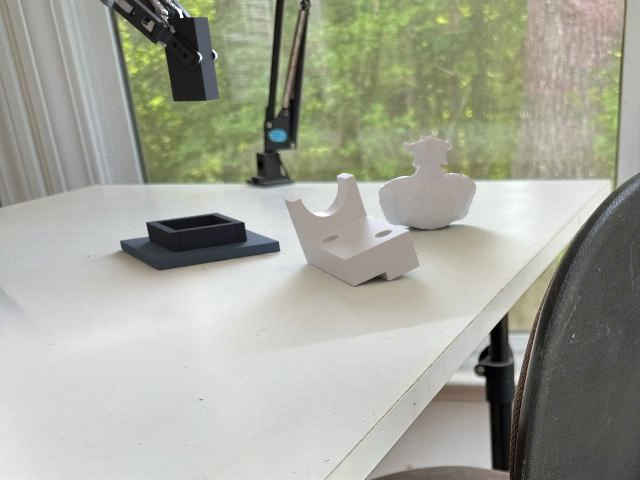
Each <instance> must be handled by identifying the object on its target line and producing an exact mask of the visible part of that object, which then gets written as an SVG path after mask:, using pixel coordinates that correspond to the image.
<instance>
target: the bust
mask: <svg viewBox="0 0 640 480" xmlns="http://www.w3.org/2000/svg"><path fill="white" fill-rule="evenodd" d="M453 145H454V142H453V140H452V139H450V138H447V139H446V140H443V139H441V138H440V139H439V138H437V136H436V135H435V133H431V134H430V135H424V134H420V139H419V140H416V141H414V142H411V143H410V142H408V141H405V142H403V143H402V147H403V149H404V150H405V152H406V153H411V154H412V155H413V162H412V167H413V168H415V172H414V173H412V174H411V175H410V176H409V175H408V176H407V175H404V176H399V177H395V178H393V179H390V180H387V181H386V182H385V183H384V184H383V185H382V186H381V187H380V188H379V190H378V202H379V205H380V208H381V212H382V214H383V216H384V218H385V220H386V222H388V223H390V224H393V225H396V226H401V227H406V228H416V229H421V230H431V231H433V230H434V231H435V230H437V229H442V228H445V227H447V226H449V225H450V224H452V223H455V222H457V221H461V220H464V219H465V218H466V217H467V216H468V215H469V211H470V208H471V206H472V204H473V200H474V197H476V192H477V191H476V190H477V188H478V187H477V184H476V182H475V181H474V180H473V179H472V178H471V177H469V176H468V175H465V174H461V173H453V172H449V173H447V172H445V171H444V170H443V168H442V166H441V164H442V165H444V166H448V164H449V162H448V156H447V155H448V153H447V152H449V151H450V150H452V149H453Z"/></svg>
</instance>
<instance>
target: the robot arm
mask: <svg viewBox="0 0 640 480" xmlns="http://www.w3.org/2000/svg"><path fill="white" fill-rule="evenodd" d="M99 2H101V3H102V5H103V6H105V7H107V8H112V9H113V10H114V11H115V12H116V13H117V14H119V15H120V16H121V17H122V18H124V20H126V22H128V23H129V24H130V25H131V26H133V27H134V29H136V30H137V31H138V32H140V33H141V34H142V35H143V36H145V38H147V40H149V41H150V42H151V43H152V44H154V45H157V44H160V46H161V47H163V48H164V47H165V48H167V47H168V46H169V49H170V50H171V51H172V52H173V53H174V54H175V55H176V56H177V57H178V58H179V59H180V60H181V61H182V62H183V63H184V64H185V65H186V66H187V67H188V68H189V69H190V70H195V69H196V68H197V66H198V65H199V63H200V62H201V60H202V55H201V54H200V53H199V52H198V51H197V50H196V49H195V48H194V47H193V46H192V45H191V44H190V43H189V42H188V41H187V40H186V39H185V38H184V37H183V36H182V35H181V33H177V34H176V32H177V29H176V28H175V27H174V26H173V24H172V23H171V22H170V21H169V20H168V19H167V18H182V17H192V16H191V15H190V14H189V12H188V11H187V10H186V8H184V7H183V6H182V4H181V3H180V2H179V1H178V0H99ZM165 48H164V49H165ZM212 50H213V57H214V63H215V62H216V60H217V59H218V53H217V51H215V50H214V48H212Z"/></svg>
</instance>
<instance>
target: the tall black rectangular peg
mask: <svg viewBox="0 0 640 480" xmlns="http://www.w3.org/2000/svg"><path fill="white" fill-rule="evenodd" d="M167 19H168V20H169V21H170V22H171V23H172V24H173V26H174V27H175V28H176V29H177V32H176V34H177V33H181V35H182V36H183V37H184V38H185V39H186V40H187V41H188V42H189V43H190V44H191V45H192V46H193V47H194V48H195V49H196V50H197V51H198V52H199V53H200V54H201V55H202V60H201V62H200V63H199V65H198V66H197V68H196V69H195V70H190V69H189V68H188V67H187V66H186V65H185V64H184V63H183V62H182V61H181V60H180V59H179V58H178V57H177V56H176V55H175V54H174V53H173V52H172V51H171V50H170V49H169V46H168V47H167V48H165V47H163V48H164V53H165V59H166V66H167V71H168V76H169V82H170V87H171V88H170V89H171V95H172V101H173V103H175V102H179V103H181V102H182V103H183V102H209V101H213V100H214V101H215V100H218V99H220V93H219V84H218V79H217V71H216V65H215V64H216V63H215V62H214V57H213V50H214V49H213V45H212V37H211V31H210V25H209V17H207V16H191V17H182V18H167ZM212 49H213V50H212Z"/></svg>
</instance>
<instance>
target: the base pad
mask: <svg viewBox="0 0 640 480" xmlns="http://www.w3.org/2000/svg"><path fill="white" fill-rule="evenodd" d="M145 224H146V229H147V230H146V231H147V236H143V237H136V238H128V239H120V240H119V243H120V248H121V250H122V251H123V252H125V253H128V254H129V255H131V256H133V257H135V258H137V259H138V260H141V261H142V262H144V263H145V264H148V265H150V266H151V267H153V268H154V269H156V270H158V271H160V270H161V271H162V270H167V269H174V268H180V267H186V266H187V267H188V266H193V265H199V264H205V263H212V262H218V261H225V260H229V259H230V260H231V259H236V258H243V257H248V256H255V255H261V254H267V253H273V252H280V251H281V245H280V241H279V240H276V239H273V238H270V237H268V236H265V235H262V234H260V233H257V232H254V231H252V230H249V229H247V228H246V223H245V222H244V221H241V220H239V219H236V218H233V217H231V216H227V215H225V214H222V213H219V212H211V213H203V214H198V215H197V214H196V215H190V216H183V217H176V218H167V219H160V220H159V219H158V220H155V221H154V220H153V221H146V222H145Z"/></svg>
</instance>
